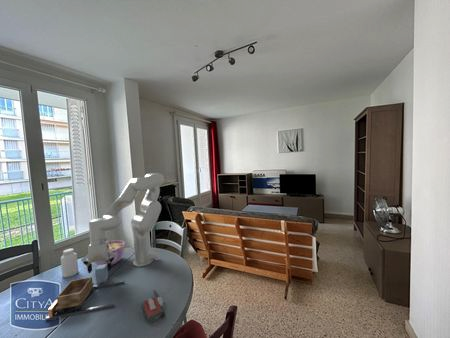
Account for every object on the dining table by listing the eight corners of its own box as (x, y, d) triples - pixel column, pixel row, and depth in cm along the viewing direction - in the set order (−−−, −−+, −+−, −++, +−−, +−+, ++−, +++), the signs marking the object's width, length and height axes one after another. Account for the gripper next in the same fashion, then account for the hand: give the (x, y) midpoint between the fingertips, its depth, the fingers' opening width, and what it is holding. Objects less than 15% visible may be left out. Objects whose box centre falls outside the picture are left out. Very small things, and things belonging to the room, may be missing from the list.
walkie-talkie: (169, 316, 86) (156, 292, 103) (168, 306, 86) (155, 283, 102) (148, 327, 81) (138, 299, 98) (147, 317, 81) (137, 291, 97)
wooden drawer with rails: (124, 282, 112) (123, 273, 111) (114, 306, 93) (113, 296, 93) (68, 292, 105) (67, 283, 105) (45, 321, 87) (44, 310, 87)
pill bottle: (81, 270, 127) (79, 247, 126) (70, 277, 119) (68, 253, 118) (70, 270, 128) (67, 247, 127) (58, 277, 120) (56, 253, 119)
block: (108, 277, 118) (106, 264, 117) (105, 281, 113) (104, 268, 113) (99, 278, 117) (98, 265, 116) (96, 283, 112) (95, 269, 112)
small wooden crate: (94, 289, 106) (93, 275, 106) (81, 310, 92) (80, 294, 91) (73, 293, 104) (71, 279, 104) (56, 315, 90) (54, 299, 89)
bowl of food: (116, 270, 124) (115, 252, 123) (84, 272, 124) (82, 254, 123) (131, 255, 144) (130, 239, 143) (103, 256, 144) (102, 240, 143)
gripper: (116, 236, 119) (118, 265, 120) (83, 240, 115) (85, 269, 116) (113, 241, 112) (114, 271, 112) (77, 245, 108) (79, 276, 108)
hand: (99, 270), depth 114 cm, fingers open, 9 cm apart
